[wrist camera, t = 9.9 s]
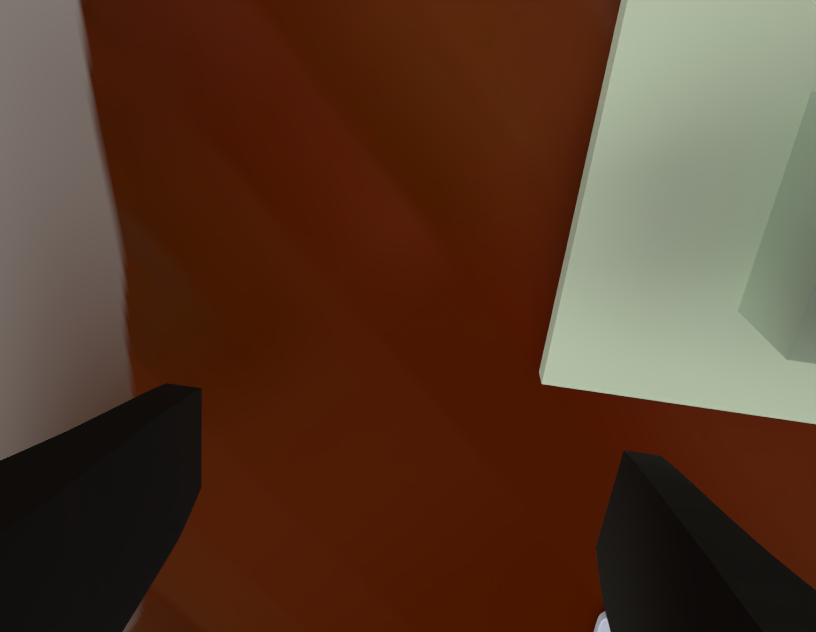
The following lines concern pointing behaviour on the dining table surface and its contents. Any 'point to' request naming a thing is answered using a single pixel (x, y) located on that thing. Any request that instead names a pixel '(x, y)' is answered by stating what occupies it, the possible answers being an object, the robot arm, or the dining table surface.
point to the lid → (697, 214)
